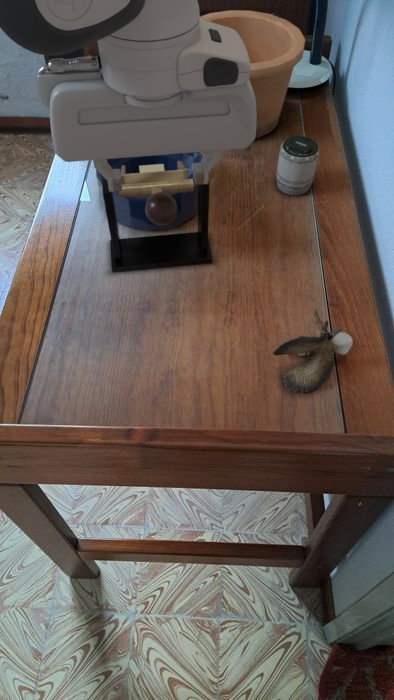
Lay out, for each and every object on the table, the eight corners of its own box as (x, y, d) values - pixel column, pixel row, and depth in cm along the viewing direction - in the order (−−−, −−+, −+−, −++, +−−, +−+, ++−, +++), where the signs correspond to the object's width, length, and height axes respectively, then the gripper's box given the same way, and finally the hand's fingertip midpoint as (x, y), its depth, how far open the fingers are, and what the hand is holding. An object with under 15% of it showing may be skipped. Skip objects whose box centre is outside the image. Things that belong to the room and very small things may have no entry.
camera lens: (284, 169, 89) (291, 128, 83) (317, 181, 87) (327, 139, 81) (268, 189, 86) (274, 147, 80) (302, 201, 84) (311, 160, 78)
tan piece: (118, 233, 55) (113, 199, 54) (120, 189, 78) (117, 164, 76) (208, 225, 56) (207, 191, 54) (185, 184, 78) (184, 159, 77)
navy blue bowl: (103, 236, 79) (97, 205, 75) (100, 169, 89) (95, 138, 84) (211, 227, 81) (212, 196, 76) (197, 161, 91) (197, 130, 86)
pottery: (297, 150, 93) (312, 69, 81) (177, 148, 93) (174, 67, 81) (287, 88, 105) (299, 10, 93) (181, 86, 105) (180, 8, 93)
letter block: (140, 180, 80) (139, 165, 82) (142, 201, 84) (141, 186, 86) (165, 178, 81) (163, 163, 83) (167, 199, 84) (164, 184, 86)
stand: (112, 272, 75) (97, 198, 64) (110, 244, 78) (96, 169, 67) (212, 263, 76) (215, 188, 65) (206, 235, 80) (208, 160, 69)
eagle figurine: (293, 319, 69) (257, 354, 63) (332, 300, 63) (296, 336, 58) (325, 364, 69) (292, 402, 64) (366, 349, 64) (334, 390, 58)
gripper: (28, 79, 42) (63, 211, 54) (268, 64, 44) (253, 195, 55) (32, 43, 46) (64, 174, 57) (254, 30, 47) (242, 160, 59)
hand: (158, 184), depth 56 cm, fingers open, 8 cm apart
